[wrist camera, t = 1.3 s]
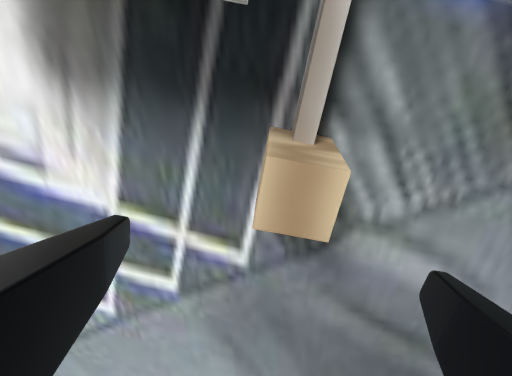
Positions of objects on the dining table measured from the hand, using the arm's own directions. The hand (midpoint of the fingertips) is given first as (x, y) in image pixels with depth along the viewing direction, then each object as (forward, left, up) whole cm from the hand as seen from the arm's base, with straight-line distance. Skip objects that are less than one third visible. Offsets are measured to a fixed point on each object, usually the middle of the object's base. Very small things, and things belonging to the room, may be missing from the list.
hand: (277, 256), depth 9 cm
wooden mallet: (-1, -4, -12) cm, 13 cm away
